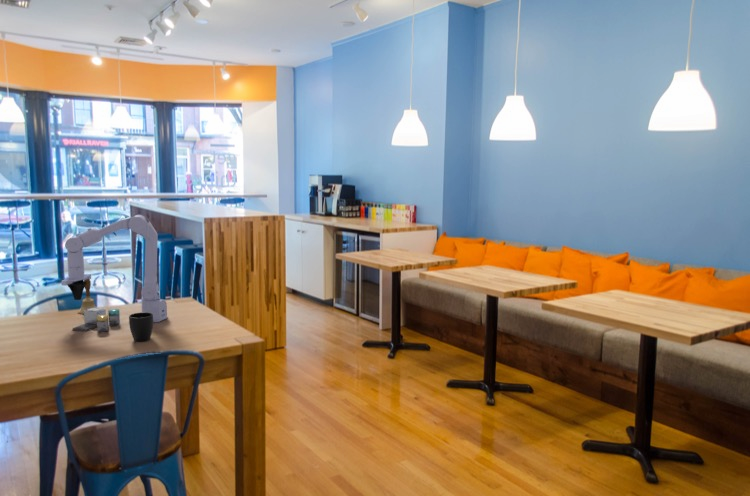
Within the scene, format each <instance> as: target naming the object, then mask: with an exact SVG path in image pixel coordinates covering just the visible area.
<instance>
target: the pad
mask: <svg viewBox="0 0 750 496" xmlns="http://www.w3.org/2000/svg"><path fill="white" fill-rule="evenodd" d="M93 329H97V325H88V324H85V323H84V324H83V323H82V324H80V325H78V326H75V327H72V331H76V332H77V331H79V332H80V331H81V332H89V331H91V330H93Z"/></svg>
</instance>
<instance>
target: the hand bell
mask: <svg viewBox="0 0 750 496" xmlns="http://www.w3.org/2000/svg"><path fill="white" fill-rule="evenodd" d="M83 281H86V283H87V284H86V285H85V287H84V291H85V298H84V299H82V301H81V307H80V309H79V310H78V311H77V313H78V314H81V315H84V311H85V310H88V309H91V308H97V306H96V305H95V299H94V298H91V292H90V291H91V284H92V283H91V282H92V281H91V279H86V280H83Z"/></svg>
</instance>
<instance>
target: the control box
mask: <svg viewBox="0 0 750 496" xmlns="http://www.w3.org/2000/svg"><path fill="white" fill-rule="evenodd" d="M100 315H107V313H106V308H99V307H96V308H91V309H88V310H85V311H84V314H83V319H84V324H88V325H97V316H100Z"/></svg>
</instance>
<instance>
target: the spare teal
mask: <svg viewBox="0 0 750 496" xmlns="http://www.w3.org/2000/svg"><path fill="white" fill-rule="evenodd" d="M107 314H108V324H109V327H118V326H120V325H121V321H120V320H121V319H120V317H121V316H120V314H121V313H120V309H119V308H112V309H108V310H107Z"/></svg>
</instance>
